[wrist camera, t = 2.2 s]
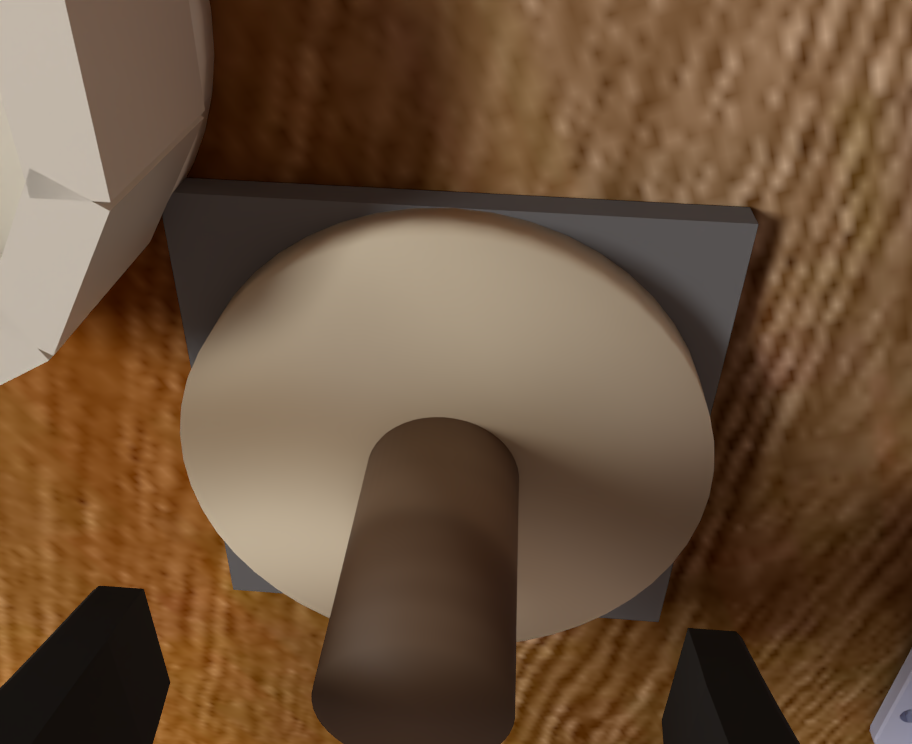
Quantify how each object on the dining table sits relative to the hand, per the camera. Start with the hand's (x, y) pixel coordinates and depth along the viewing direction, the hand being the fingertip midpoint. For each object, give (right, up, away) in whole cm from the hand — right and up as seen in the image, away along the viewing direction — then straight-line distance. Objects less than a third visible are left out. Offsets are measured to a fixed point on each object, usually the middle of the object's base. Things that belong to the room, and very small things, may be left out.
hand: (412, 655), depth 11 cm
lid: (0, +3, +4) cm, 5 cm away
